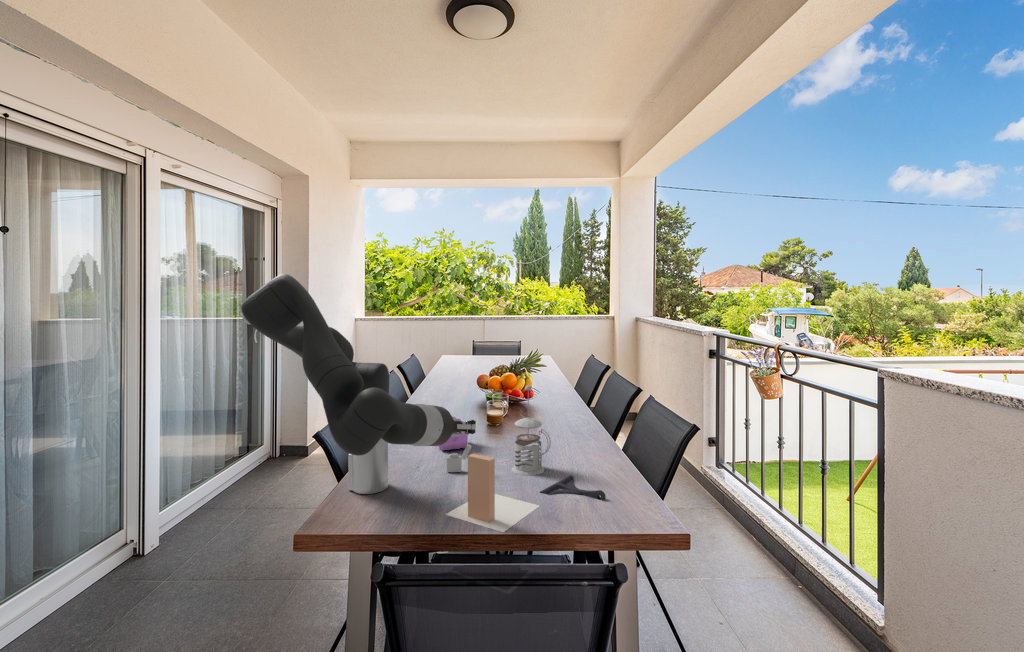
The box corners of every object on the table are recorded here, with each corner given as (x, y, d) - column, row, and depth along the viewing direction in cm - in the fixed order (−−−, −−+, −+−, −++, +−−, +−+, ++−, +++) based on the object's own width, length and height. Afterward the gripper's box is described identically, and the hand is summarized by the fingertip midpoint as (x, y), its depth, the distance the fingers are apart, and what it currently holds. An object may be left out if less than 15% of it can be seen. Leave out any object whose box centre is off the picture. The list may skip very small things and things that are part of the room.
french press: (520, 462, 152) (520, 381, 150) (555, 467, 147) (556, 384, 145) (505, 472, 143) (505, 386, 141) (542, 478, 138) (543, 390, 136)
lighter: (446, 472, 142) (446, 445, 142) (447, 470, 144) (447, 443, 144) (471, 472, 142) (471, 445, 142) (471, 470, 144) (471, 443, 144)
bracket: (590, 512, 118) (590, 501, 117) (539, 496, 127) (539, 486, 127) (617, 494, 129) (617, 483, 129) (568, 480, 138) (568, 471, 138)
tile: (467, 516, 112) (467, 455, 112) (473, 512, 114) (473, 453, 113) (489, 522, 109) (489, 460, 108) (495, 519, 111) (495, 458, 110)
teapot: (428, 441, 174) (428, 412, 174) (466, 437, 179) (466, 409, 178) (437, 456, 157) (437, 425, 157) (479, 452, 161) (479, 421, 161)
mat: (445, 516, 113) (445, 514, 113) (485, 493, 127) (485, 491, 127) (503, 535, 105) (503, 532, 105) (540, 508, 118) (540, 505, 118)
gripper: (393, 445, 93) (440, 445, 108) (454, 446, 88) (495, 446, 103) (395, 405, 94) (442, 411, 110) (456, 404, 89) (496, 410, 105)
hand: (468, 428), depth 106 cm, fingers closed
